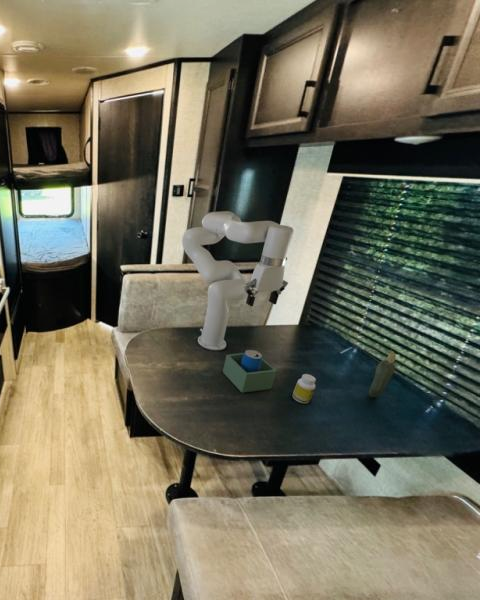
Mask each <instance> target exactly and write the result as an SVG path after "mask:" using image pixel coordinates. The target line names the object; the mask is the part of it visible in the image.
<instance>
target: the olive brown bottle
mask: <svg viewBox="0 0 480 600" xmlns="http://www.w3.org/2000/svg"><path fill="white" fill-rule="evenodd" d="M387 354H388V355H387V357H386V359H383V360H381V361H380V362H378V364H377V366H376V368H375V372H374V378H373V381H372V383H371V385H370V387H369V389H368V395H369V396H370V397H371V398H376V397H377V398H379V397H380V396H381V395H382V394H383V393H384V391H386V388H387V385H388V383H389V381H390V379H392V376H393V375H394V373H395V370H396V364H395V363H394V362H395V361H396V358H397V357H396V354H395V352H394V351H393V350H392V349H390V350H389V351H388V352H387Z"/></svg>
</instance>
